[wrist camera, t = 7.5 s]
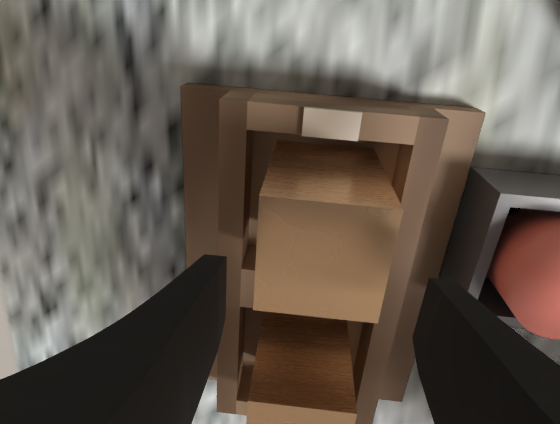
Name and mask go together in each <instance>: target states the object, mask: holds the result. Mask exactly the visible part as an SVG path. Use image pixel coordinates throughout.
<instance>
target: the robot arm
mask: <svg viewBox="0 0 560 424" xmlns="http://www.w3.org/2000/svg"><path fill="white" fill-rule="evenodd" d="M226 278H227V256H218V255H208V254H204V255H203V256H202V257H200V258H199V259H198V260H197V261H195V262H194V263H193V264H192V265H191V266H189V267H188V268H187V269H186V270H185V271H184V272H182V273H181V274H180V275H179V276H178V277H176V278H175V279H174V280H173V281H172V282H170V283H169V284H168V285H167V286H165V287H164V288H163V289H162V290H160V291H159V292H158V293H157V294H155V295H154V296H153V297H151V298H150V299H149V300H147V301H146V302H144V303H143V304H142V305H140V306H139V307H138V308H136V309H135V310H133V311H132V312H131V313H129V314H128V315H126V316H125V317H123V318H122V319H120V320H118V321H117V322H115V323H114V324H112V325H110V326H109V327H107V328H105V329H103V330H102V331H100V332H98V333H97V334H95V335H93V336H92V337H90V338H88V339H86V340H84V341H82V342H80V343H78V344H76V345H74V346H72V347H70V348H68V349H66V350H64V351H62V352H60V353H58V354H56V355H54V356H52V357H50V358H48V359H46V360H44V361H42V362H40V363H38V364H36V365H34V366H31V367H29V368H27V369H24V370H22V371H20V372H18V373H15V374H13V375H11V376H8V377H6V378H3V379H1V380H0V424H191V423H192V421H193V418H194V415H195V412H196V410H197V407H198V404H199V401H200V399H201V396H202V393H203V391H204V388H205V385H206V382H207V380H208V377H209V374H210V371H211V369H212V366H213V363H214V360H215V358H216V355H217V352H218V348H219V344H220V340H221V336H222V332H223V327H224V323H225V318H226ZM412 339H413V345H414V352H415V358H416V363H417V368H418V373H419V376H420V380H421V383H422V386H423V389H424V392H425V396H426V399H427V402H428V405H429V408H430V411H431V414H432V417H433V420H434V423H435V424H560V365H558V364H557V363H556V362H554V361H553V360H552V359H550V358H549V357H548V356H546V355H545V354H544V353H542V352H541V351H540V350H538V349H537V348H536V347H534V346H533V345H532V344H530V343H529V342H528V341H527V340H525V339H524V338H523V337H522V336H520V335H519V334H518V333H517V332H515V331H514V330H513V329H512V328H510V327H509V326H508V325H507V324H506V323H504V322H503V321H502V320H501V319H500V318H498V317H497V316H496V315H495V314H494V313H492V312H491V311H490V310H489V309H488V308H487V307H485V306H484V305H483V304H482V303H481V302H479V301H478V300H477V299H476V298H475V297H474V296H472V295H471V294H470V293H469V292H468V291H466V290H465V289H464V288H463V287H461V286H460V285H459V284H457V283H456V282H455V281H453V280H448V279H439V278H429V279H428V283H427V286H426V290H425V294H424V297H423V301H422V304H421V308H420V312H419V315H418V319H417V322H416V326H415V329H414V333H413V337H412Z"/></svg>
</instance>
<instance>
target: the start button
mask: <svg viewBox="0 0 560 424" xmlns="http://www.w3.org/2000/svg"><path fill="white" fill-rule="evenodd" d="M486 275H487V276H488V278H489V279H490V281H491V282H492V284H493V285H494V287H495V288H496V289H497V291H498V292H499V294H500V295H501V297H502V298H503V300H504V301H505V303H506V304H507V305H508V307H509V308H510V310H511V311H512V313H513V314H514V316H515V317H516V319H517V320H518V321H519V323H520V324H521V325H522V326H523V327H524V328H526V329H527V330H528V331H530V332H532V333H533V334H536V335H538V336H541V337H544V338H549V339H556V340H560V212H556V211H546V210H536V209H525V208H524V209H522V210H519V211H517V212H515V213H513V214H511V215H509V216H508V217H507V218H506V220H505V223H504V226H503V229H502V232H501V235H500V238H499V240H498V243H497V246H496V249H495V252H494V255H493V257H492V260H491V263H490V266H489V269H488V272H487V274H486Z"/></svg>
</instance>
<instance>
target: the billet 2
mask: <svg viewBox="0 0 560 424" xmlns="http://www.w3.org/2000/svg"><path fill="white" fill-rule="evenodd" d="M356 417H357V408H356V399H355V390H354V380H353V371H352V362H351V353H350V344H349V335H348V326H347V320H340V319H331V318H322V317H313V316H303V315H294V314H285V313H276V312H266V311H264V312H263V318H262V323H261V329H260V335H259V340H258V346H257V352H256V357H255V363H254V369H253V374H252V380H251V386H250V391H249V397H248V406H247V424H355V421H356Z"/></svg>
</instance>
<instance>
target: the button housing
mask: <svg viewBox="0 0 560 424" xmlns="http://www.w3.org/2000/svg"><path fill="white" fill-rule="evenodd" d="M510 207H515V208H525V209H536V210H546V211H556V212H560V175H550V174H539V173H528V172H518V171H507V170H496V169H485V168H475V167H472V168H471V172H470V175H469V178H468V182H467V185H466V189H465V192H464V195H463V199H462V202H461V206H460V209H459V213H458V216H457V219H456V223H455V226H454V230H453V233H452V236H451V240H450V243H449V247H448V250H447V254H446V257H445V260H444V264H443V267H442V271H441V274H440V277H439V279H448V280H453V281H455V282H456V283H457V284H459V285H460V286H461V287H463V288H464V289H465V290H466V291H468V292H469V293H470V294H471V295H472V296H474V297H475V298H476V299H477V300H478V301H479V302H481V303H482V304H483V305H484V306H485V307H487V308H488V309H489V310H490V311H491V312H492V313H494V314H495V315H496V316H497V317H498V318H500V319H501V320H502V321H503V322H504V323H506V324H507V325H508V326H509V327H516V328H524V327H523V326H522V325H521V324H520V323H519V321H518V320H517V319H516V317H515V316H514V314H513V313H512V311H511V310H510V308H509V307H508V305H507V304H506V303H505V301H504V300H503V298H502V297H501V295H500V294H499V292H498V291H497V289H496V288H495V287H494V285H493V284H492V282H491V281H490V279H489V278H487V277H486V274H487V272H488V269H489V266H490V263H491V260H492V257H493V255H494V252H495V249H496V246H497V243H498V240H499V238H500V235H501V232H502V229H503V226H504V223H505V220H506V218H507V215H508V212H509V209H510ZM525 329H526V328H525Z"/></svg>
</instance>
